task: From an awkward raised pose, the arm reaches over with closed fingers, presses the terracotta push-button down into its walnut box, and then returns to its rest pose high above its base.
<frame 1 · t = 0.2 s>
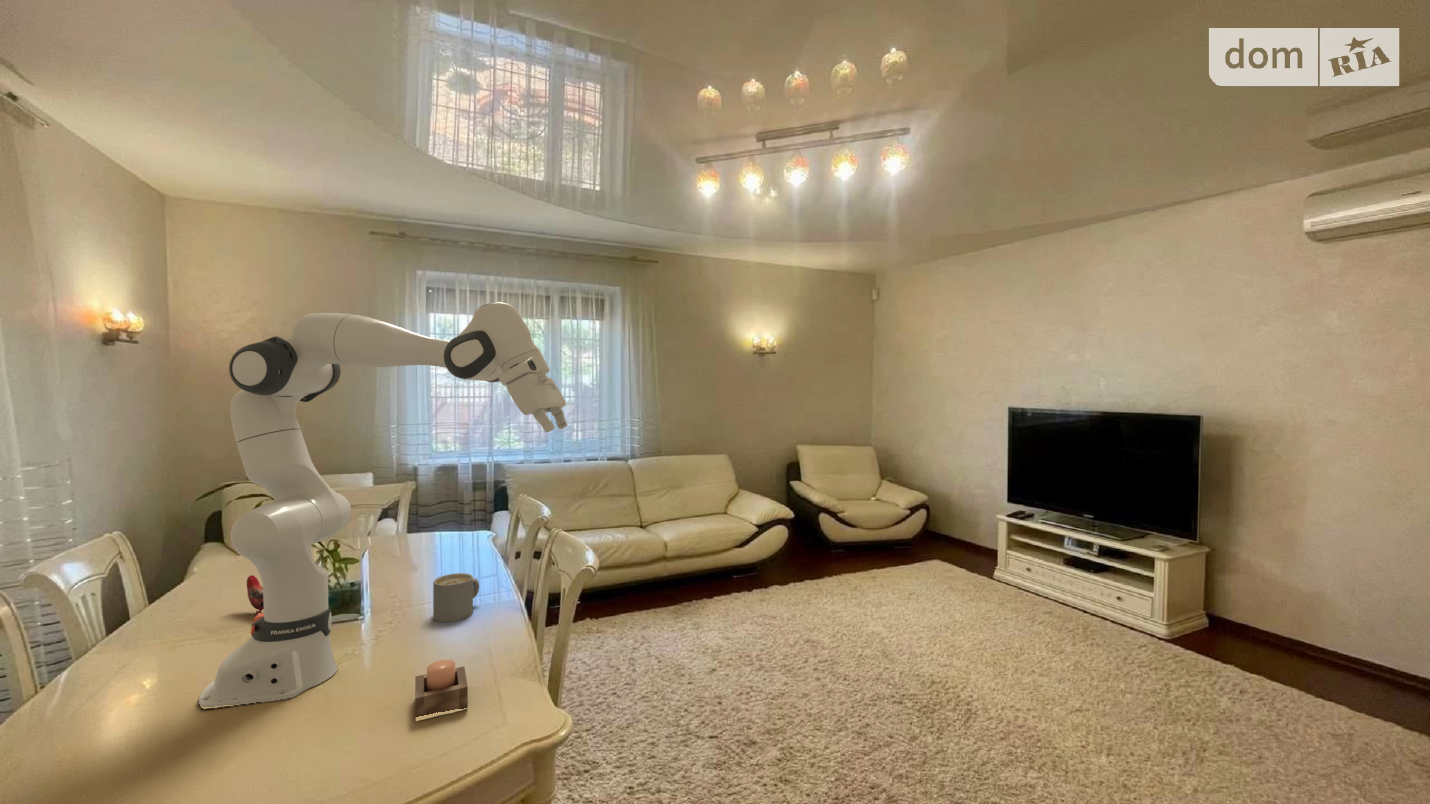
hand: (557, 429, 118), 54 cm above the table, tool tilted 30°, fingers open, 8 cm apart
decorative bird figurine: (261, 616, 151), on the table
push button: (441, 675, 109), point 6 cm above the table, slide at 0.0 cm
button box: (441, 703, 109), on the table
coffee mug: (459, 613, 154), on the table
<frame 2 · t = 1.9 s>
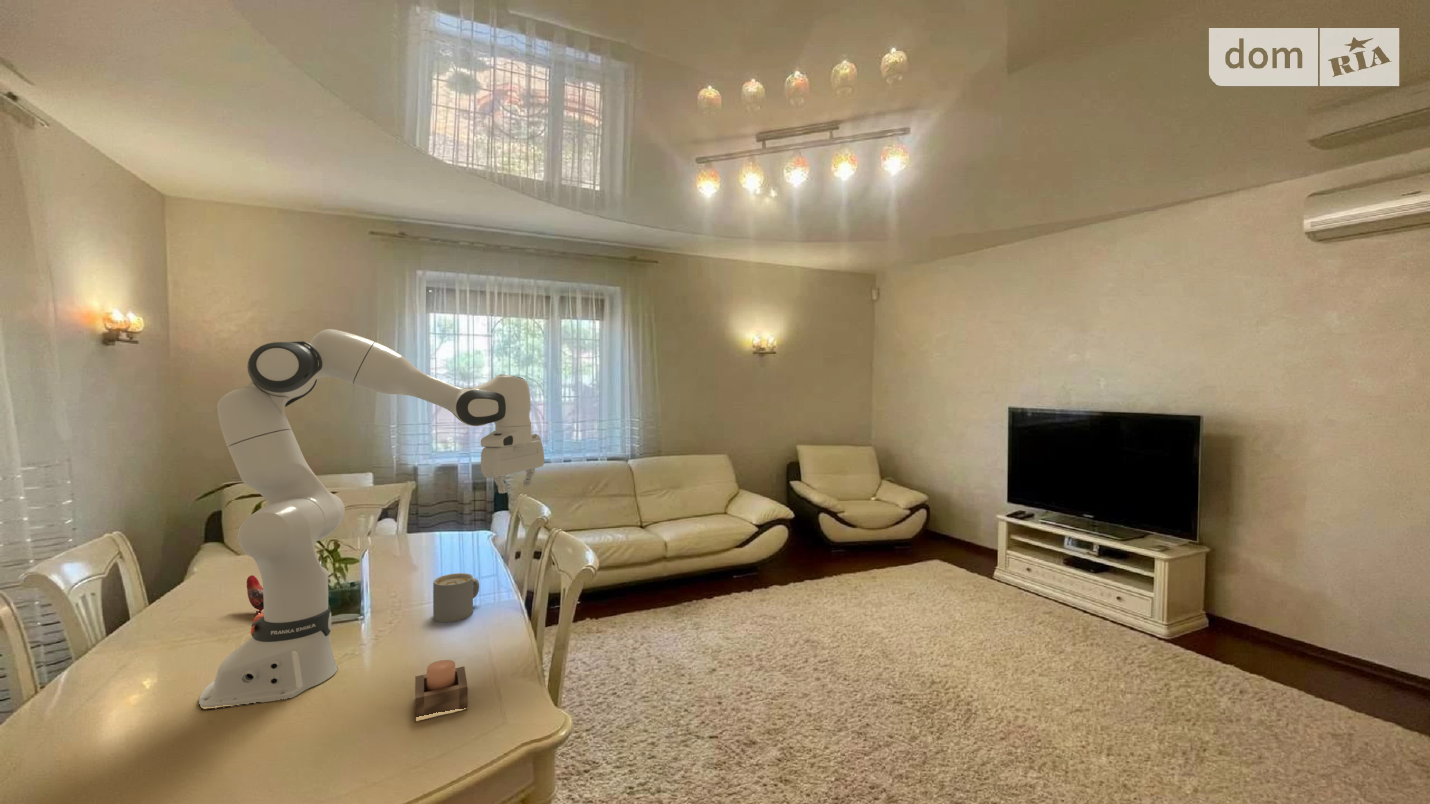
hand: (515, 489, 144), 36 cm above the table, tool pointing down, fingers open, 8 cm apart
nothing on the table moved.
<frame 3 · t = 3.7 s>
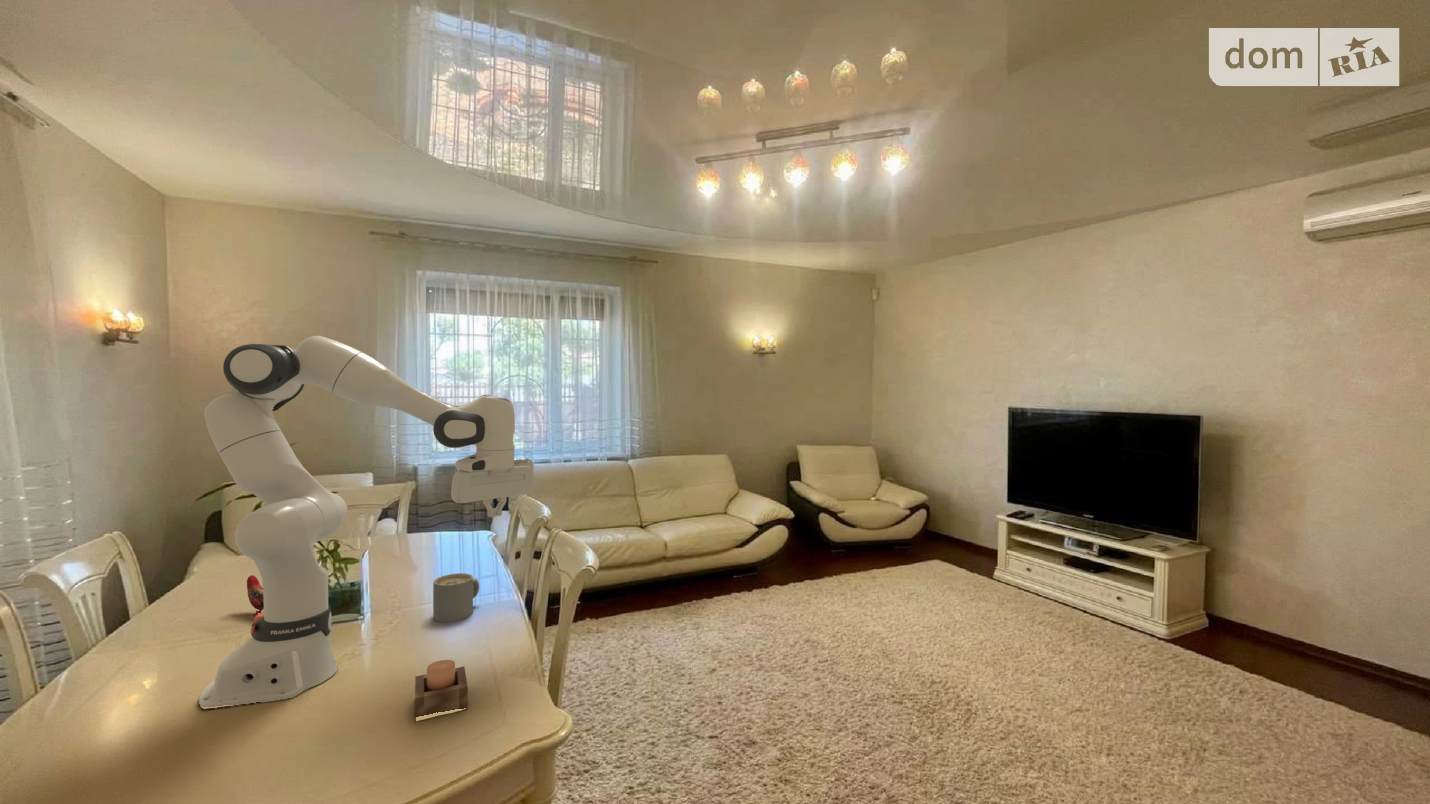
hand: (494, 516, 137), 31 cm above the table, tool pointing down, fingers closed
nothing on the table moved.
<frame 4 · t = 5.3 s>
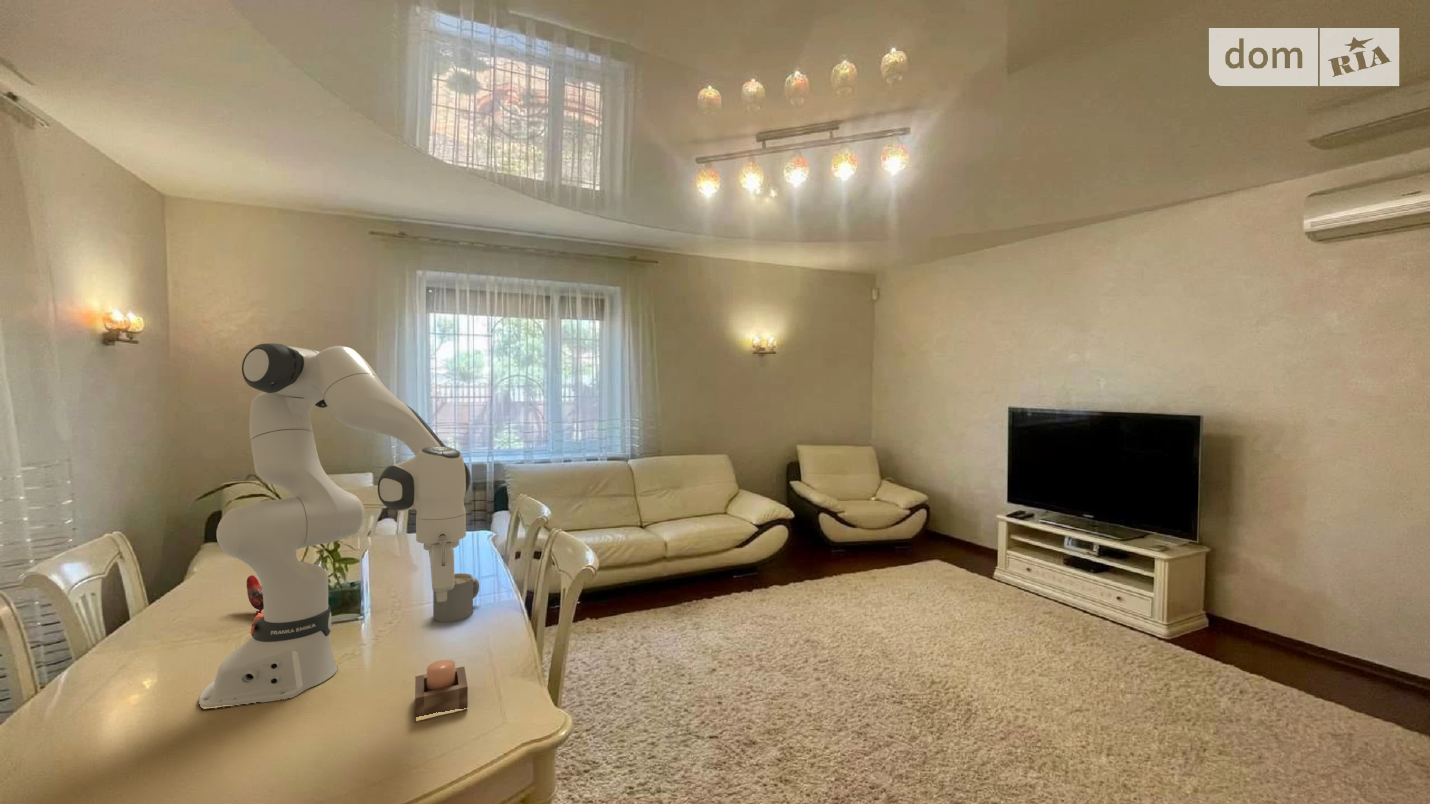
hand: (441, 599, 109), 21 cm above the table, tool pointing down, fingers closed
nothing on the table moved.
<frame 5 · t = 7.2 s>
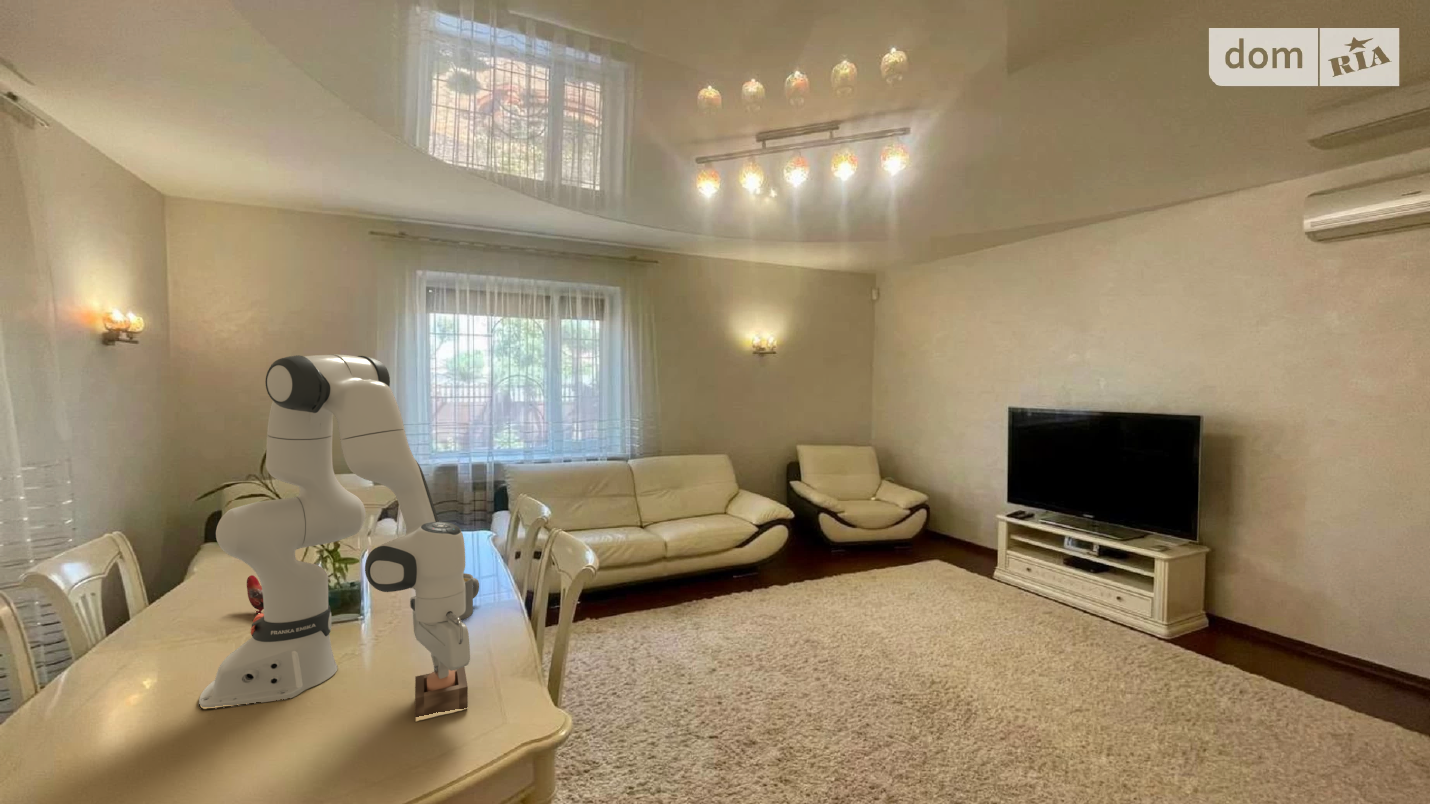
hand: (441, 675, 109), 6 cm above the table, tool pointing down, fingers closed
push button: (441, 685, 109), point 4 cm above the table, slide at 1.8 cm, touching gripper
everything else where it was.
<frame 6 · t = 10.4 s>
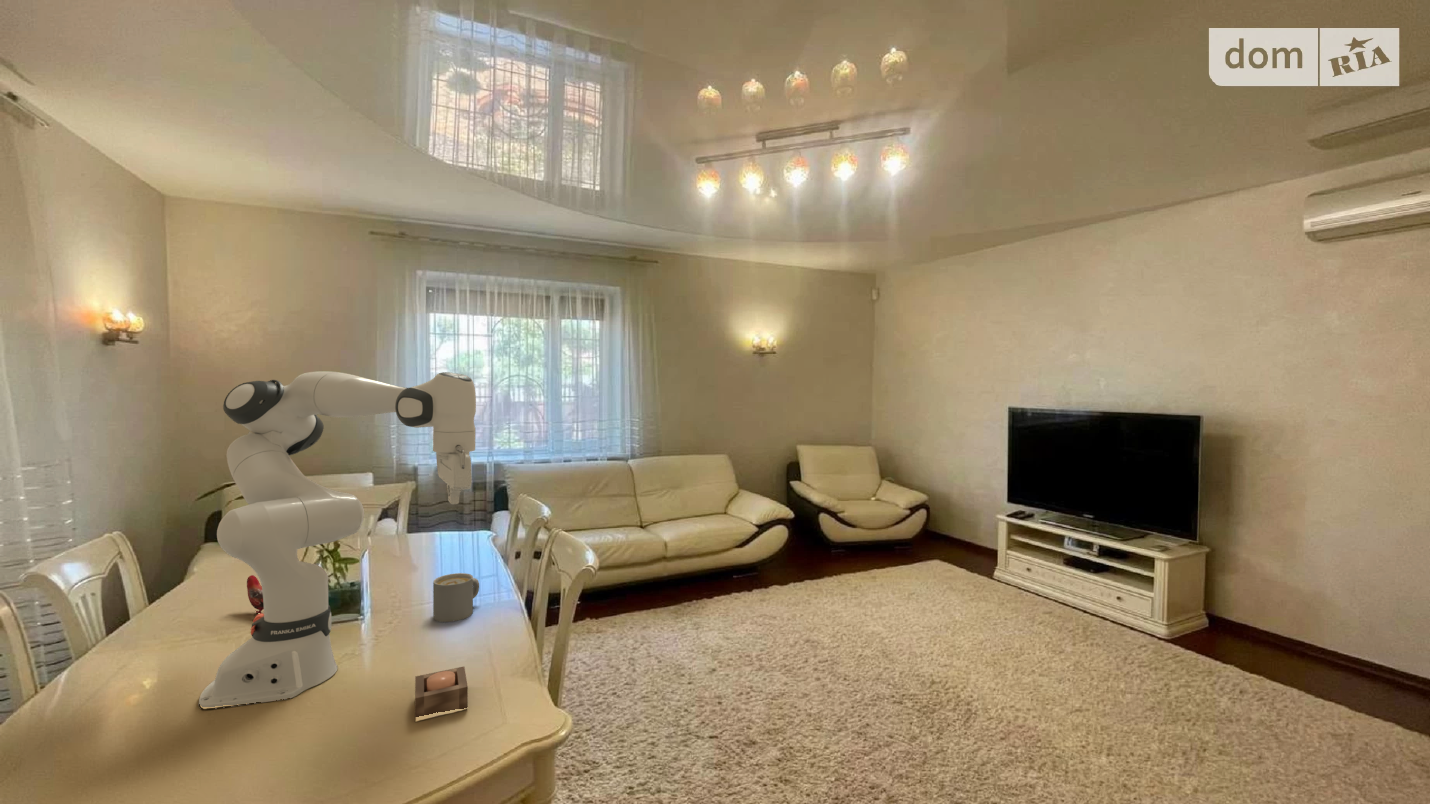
hand: (453, 503, 127), 36 cm above the table, tool pointing down, fingers closed
push button: (441, 687, 109), point 3 cm above the table, slide at 2.3 cm
everything else where it was.
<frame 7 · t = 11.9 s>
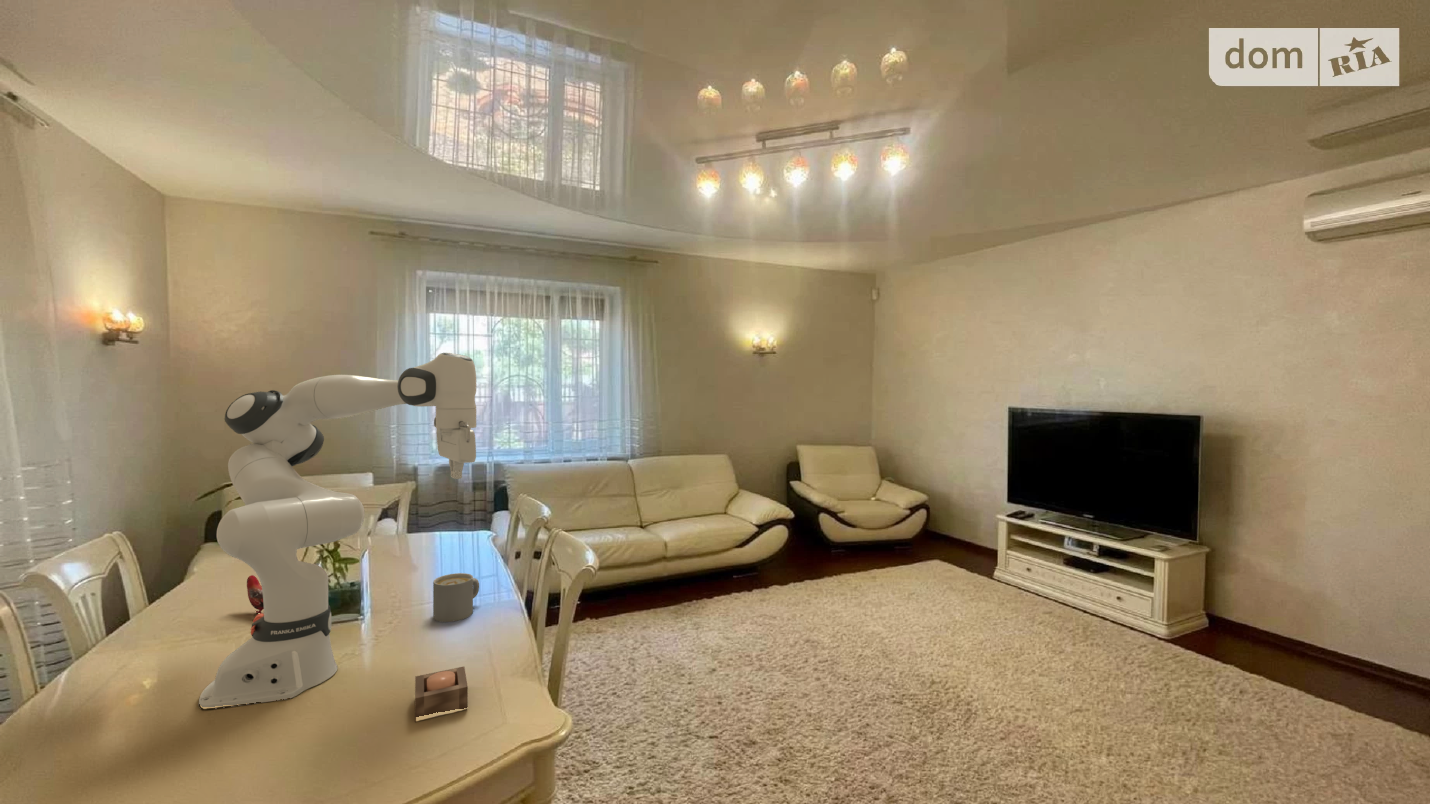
hand: (456, 478, 132), 41 cm above the table, tool pointing down, fingers closed
nothing on the table moved.
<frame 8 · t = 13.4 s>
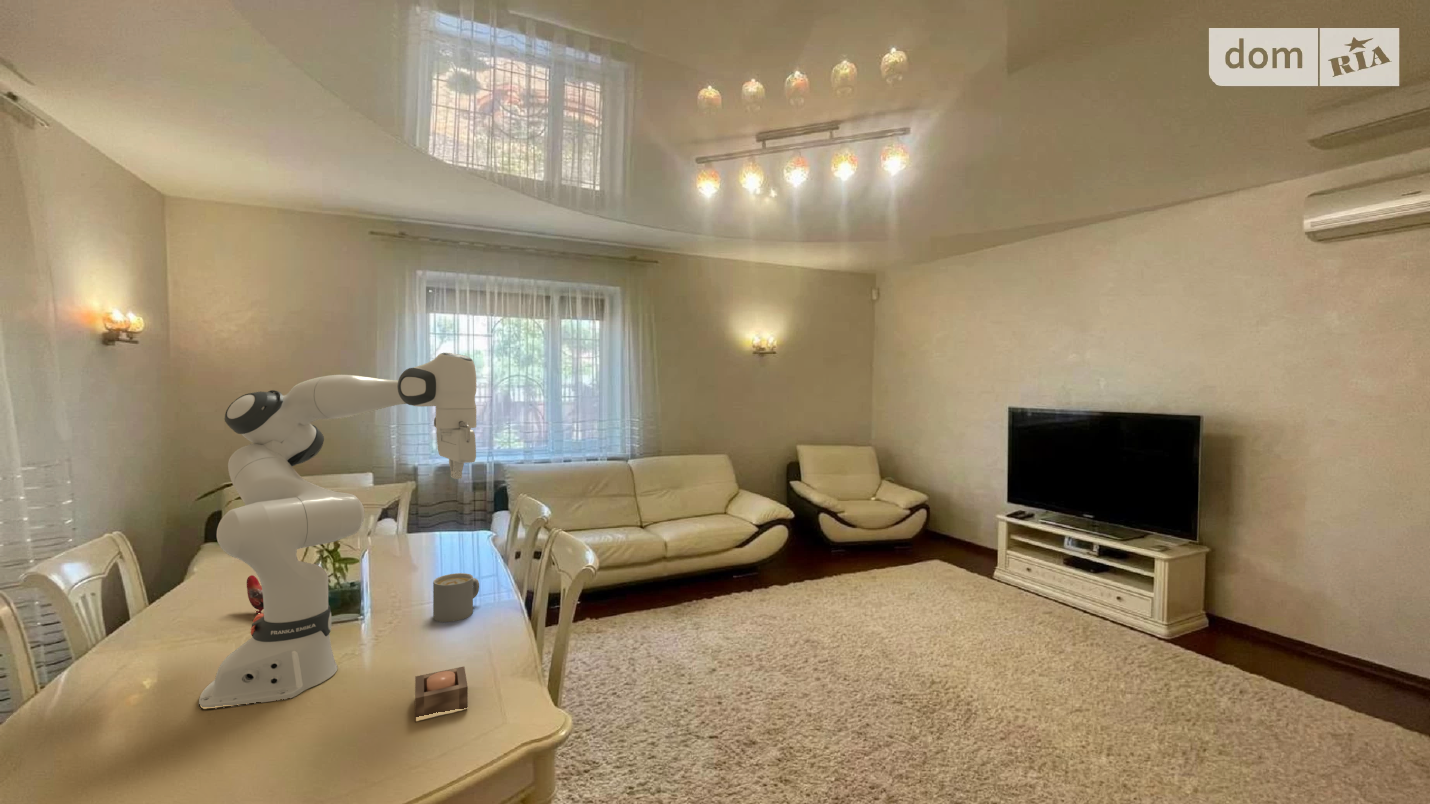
hand: (456, 478, 132), 41 cm above the table, tool pointing down, fingers closed
nothing on the table moved.
at the end: push button slide at 2.3 cm; coffee mug moved 0.2 cm from its start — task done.
